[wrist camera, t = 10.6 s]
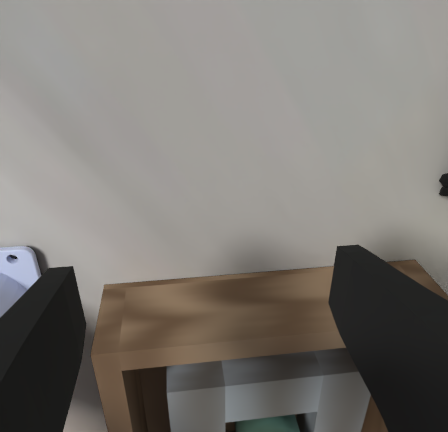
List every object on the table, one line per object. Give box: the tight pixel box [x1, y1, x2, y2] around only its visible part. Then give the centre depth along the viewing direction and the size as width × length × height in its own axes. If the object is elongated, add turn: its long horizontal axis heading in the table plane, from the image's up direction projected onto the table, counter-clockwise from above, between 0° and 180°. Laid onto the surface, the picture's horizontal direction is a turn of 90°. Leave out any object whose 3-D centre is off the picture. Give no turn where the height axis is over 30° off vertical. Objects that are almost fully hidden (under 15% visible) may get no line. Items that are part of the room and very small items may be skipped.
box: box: [91, 260, 448, 432], centre depth 27 cm, size 18×22×5 cm
